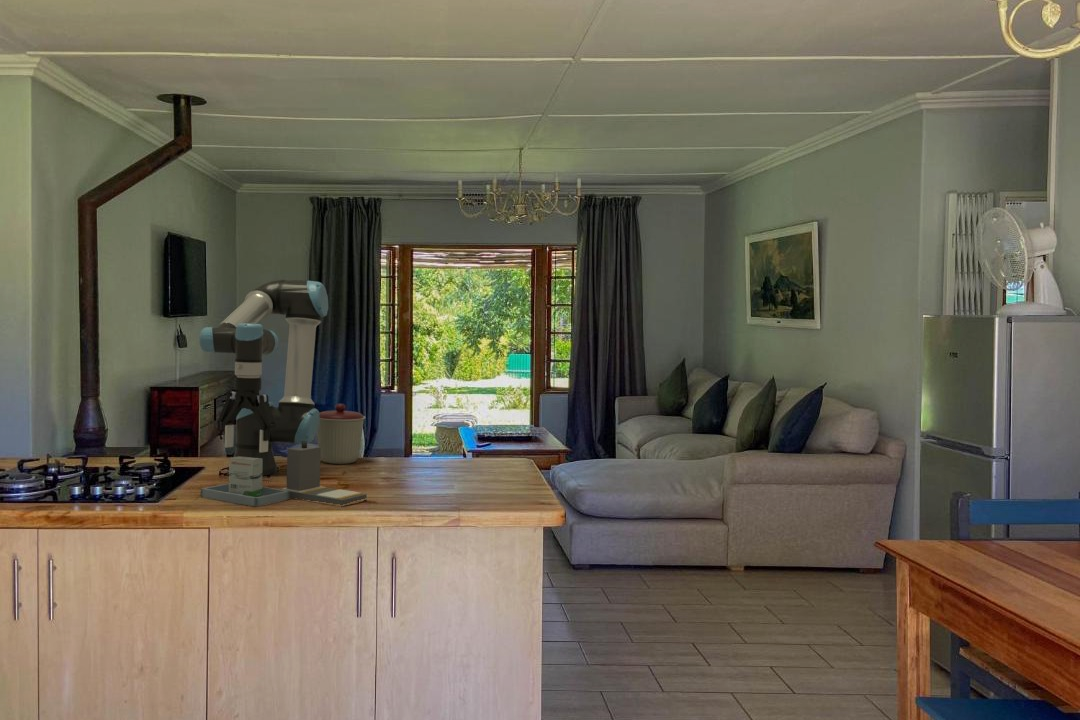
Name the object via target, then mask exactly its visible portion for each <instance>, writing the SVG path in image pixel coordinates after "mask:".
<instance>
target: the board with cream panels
mask: <svg viewBox="0 0 1080 720" xmlns="http://www.w3.org/2000/svg"><path fill="white" fill-rule="evenodd" d="M279 489H280V490H286V491H290V499H293V498H297V499H296V500H298V499H304V500H310V501H319V502H326V503H333V504H340V505H343V504H347V503H350V502H353V501H357V500H361V499H365V498H366V499H367V495H368V494H367V493H363V492H359V491H353V490H346V489H337V488H336V489H335V488H330V487H328V486H323V485H320V487H315V488H311V489H306V490H301V491H296V490H290V489H286V487H283V488H279ZM304 500H303V501H304ZM310 501H309V502H310Z"/></svg>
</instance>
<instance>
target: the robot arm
mask: <svg viewBox="0 0 1080 720" xmlns="http://www.w3.org/2000/svg"><path fill="white" fill-rule="evenodd" d="M328 311H329V297H328V293H327V289H326V287H325V285H324V284H323V283H322V282H320V281H315V280H314V281H313V280H309V279H308V280H301V279H300V280H299V279H298V280H297V279H296V280H295V279H293V280H292V279H291V280H290V279H289V280H288V279H274V280H270V281H267V282H265V283H262V284H261V285H259V286H257V287H255V288H254V289H252V290H251V291H250V292H248V293H247V294H246V296H245V298H244V301H242V303H241V304H239V306H238V307H237V308H236V309H234V310H233V311H232V312H231V313H230V314H229V315H228V316H227V317H226V318H224V319H223V321H221V322H220V323H219V324H218V325H217V326H215V327H213V326H209V327H207V326H206V327H203V328H202V329H201V331H200V334H199V347H200V349H201V350H202V351H203V352H205V353H213V354H215V353H218V354H235V356H234V357H235V358H234V375H235V377H234V382H233V383H234V384H233V385H234V387H233V388H234V390H235V391H234V390H233V391H228V392H227V393H226V394H227V395H226V399H225V403H224V405H223V407H222V410H221V412H220V415H219V416H218V419H217V420H218V422H219V423H222V425H223V436H224V448H226V449H227V448H233V447H234V440H235V451H234V454H233V457H239V456H240V457H251V458H262V459H263V466H262V477H263V476H270V475H271V476H272V475H275V474H277V472H278V465H277V463H276V459H275V455H274V451H273V443H281V444H282V443H283V444H295V445H300V444H301V445H302V441H307V444H310V443H312V441H314V439H315V437H317V431H318V428H319V422H320V417H319V416H320V411H319V410H318V409H317V408H315V402H314V401H313V399H311V396H312V395H311V394H312V384H313V369H314V358H315V357H314V356H315V345H316V344H315V343H316V334H317V333H316V331H317V326H319V325H320V324H321V323H322V318H324V317H326V316H327V315H328ZM270 315H283V316H285V317H284V318H285V319H284V320H285V321H286V322H287V323H288V324H289V331H288V341H287V342H288V343H287V344H288V345H287V354H286V367H285V379H284V392H283V396H282V398H281V399H280V400H279V401H278V406H275V405H274V402H273V401H269V395H268V394H260V391H261V390H262V378H261V376H262V372H263V369H262V368H263V367H262V366H263V365H262V364H263V355H265V356H268V355H270V354H272V353H275V351H276V350H277V349H278V346H279V341H280V340H279V337H278V334H276V333H275V332H274V331H273V330H271V329H265V328H264V327H263V325H262V324H260V323H258V322H259V321H260V320H261V319H266V318H267V317H269V316H270ZM234 421H236V422H235V424H234ZM235 427H236V429H235ZM234 432H235V433H234ZM234 436H235V439H234ZM233 457H232V458H233Z"/></svg>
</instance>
